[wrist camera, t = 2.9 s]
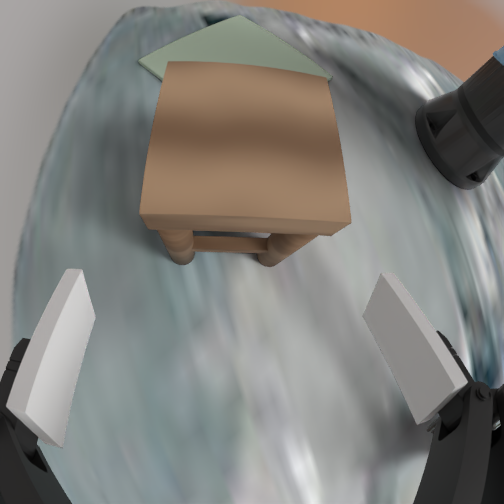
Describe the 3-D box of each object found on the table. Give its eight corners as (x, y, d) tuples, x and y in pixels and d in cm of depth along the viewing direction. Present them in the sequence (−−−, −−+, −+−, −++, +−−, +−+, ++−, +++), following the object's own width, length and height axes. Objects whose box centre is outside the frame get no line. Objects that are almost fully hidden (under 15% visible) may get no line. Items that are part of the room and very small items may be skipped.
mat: (239, 17, 34) (239, 14, 34) (331, 79, 34) (332, 76, 33) (138, 63, 29) (138, 60, 29) (235, 142, 29) (235, 139, 28)
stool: (177, 163, 27) (167, 61, 14) (277, 168, 29) (326, 77, 16) (169, 264, 25) (139, 213, 12) (280, 267, 27) (351, 222, 14)
